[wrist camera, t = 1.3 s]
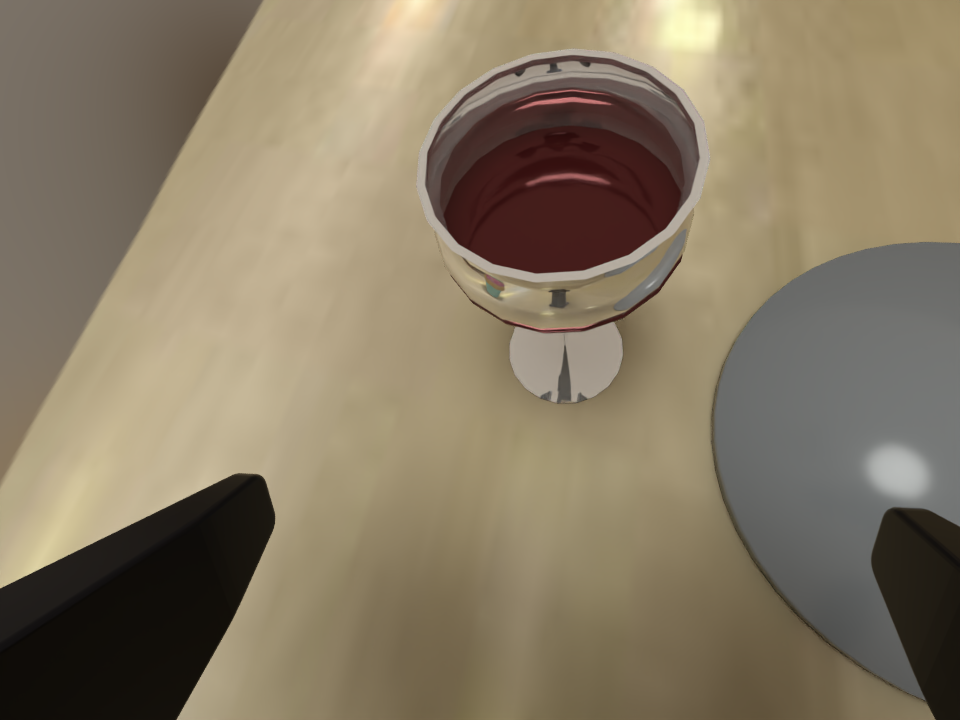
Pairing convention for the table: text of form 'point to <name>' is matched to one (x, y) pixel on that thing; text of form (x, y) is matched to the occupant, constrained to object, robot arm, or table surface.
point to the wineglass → (564, 204)
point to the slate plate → (844, 433)
